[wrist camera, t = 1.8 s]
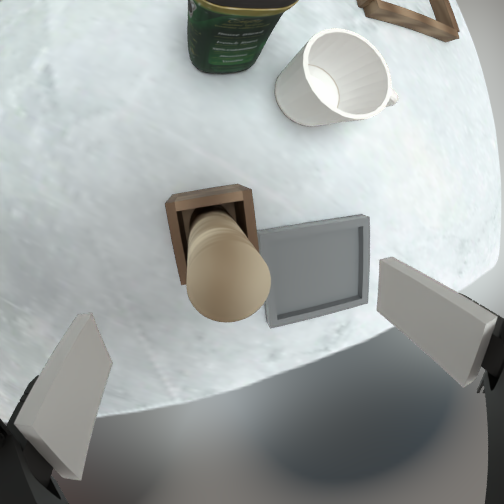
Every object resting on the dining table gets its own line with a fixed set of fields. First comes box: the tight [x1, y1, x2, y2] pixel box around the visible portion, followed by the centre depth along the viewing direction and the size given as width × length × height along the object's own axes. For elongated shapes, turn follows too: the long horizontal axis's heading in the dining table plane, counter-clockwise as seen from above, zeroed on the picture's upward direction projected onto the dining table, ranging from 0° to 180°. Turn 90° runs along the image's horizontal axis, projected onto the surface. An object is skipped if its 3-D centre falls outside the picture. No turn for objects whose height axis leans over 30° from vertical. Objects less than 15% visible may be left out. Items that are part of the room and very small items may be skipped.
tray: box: [257, 214, 370, 328], centre depth 35 cm, size 14×12×2 cm
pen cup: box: [165, 184, 259, 285], centre depth 28 cm, size 7×7×8 cm
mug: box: [275, 28, 398, 127], centre depth 25 cm, size 11×9×10 cm
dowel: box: [186, 204, 271, 322], centre depth 23 cm, size 4×4×17 cm
